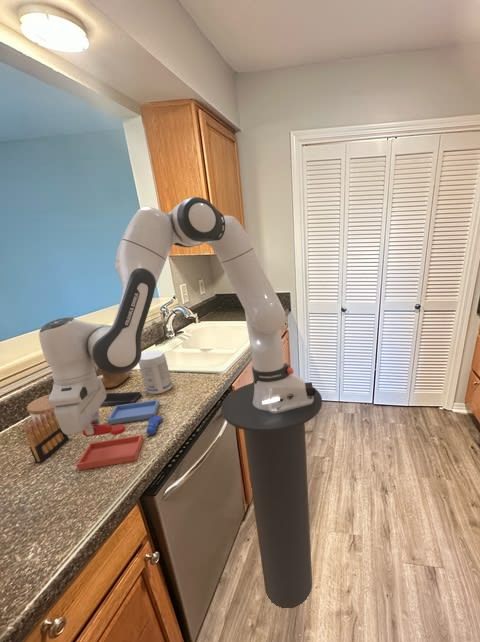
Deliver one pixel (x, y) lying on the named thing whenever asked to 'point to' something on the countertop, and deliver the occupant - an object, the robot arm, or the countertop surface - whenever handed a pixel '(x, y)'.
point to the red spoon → (107, 429)
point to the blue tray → (133, 412)
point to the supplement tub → (155, 372)
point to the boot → (113, 378)
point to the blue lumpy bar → (153, 424)
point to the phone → (121, 398)
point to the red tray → (110, 452)
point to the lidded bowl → (39, 407)
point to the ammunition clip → (45, 436)
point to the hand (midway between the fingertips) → (93, 429)
